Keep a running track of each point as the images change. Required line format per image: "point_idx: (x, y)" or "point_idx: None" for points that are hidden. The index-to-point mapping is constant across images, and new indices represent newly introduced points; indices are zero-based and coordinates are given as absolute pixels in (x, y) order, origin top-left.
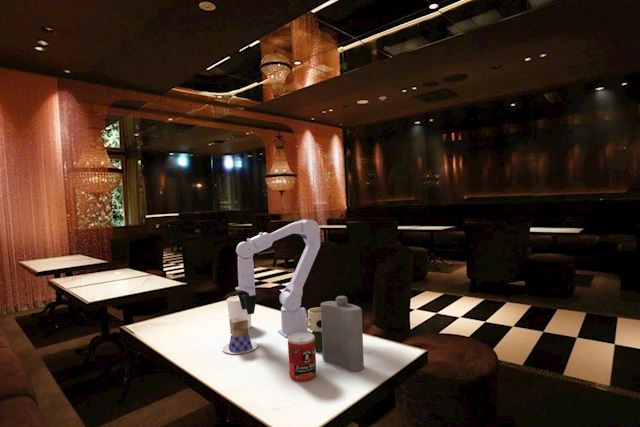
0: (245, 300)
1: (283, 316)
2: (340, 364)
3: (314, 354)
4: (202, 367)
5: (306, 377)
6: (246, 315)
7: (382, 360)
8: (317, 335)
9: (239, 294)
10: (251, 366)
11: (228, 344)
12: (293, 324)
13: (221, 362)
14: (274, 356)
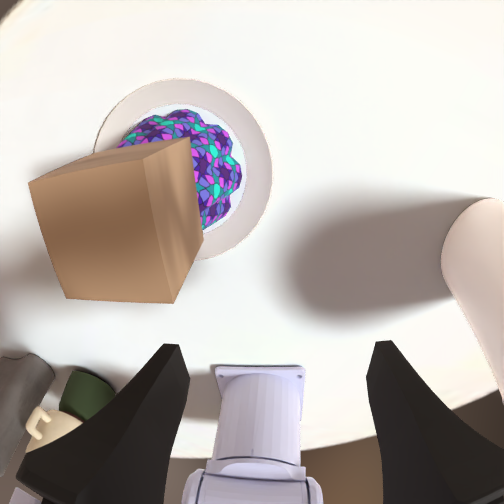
0: (51, 442)
1: (238, 437)
2: (13, 360)
3: None
4: (46, 16)
5: None
6: (469, 313)
7: (41, 405)
8: (59, 404)
9: (432, 483)
10: (5, 191)
11: (248, 117)
12: (218, 422)
13: (52, 81)
14: (55, 276)
